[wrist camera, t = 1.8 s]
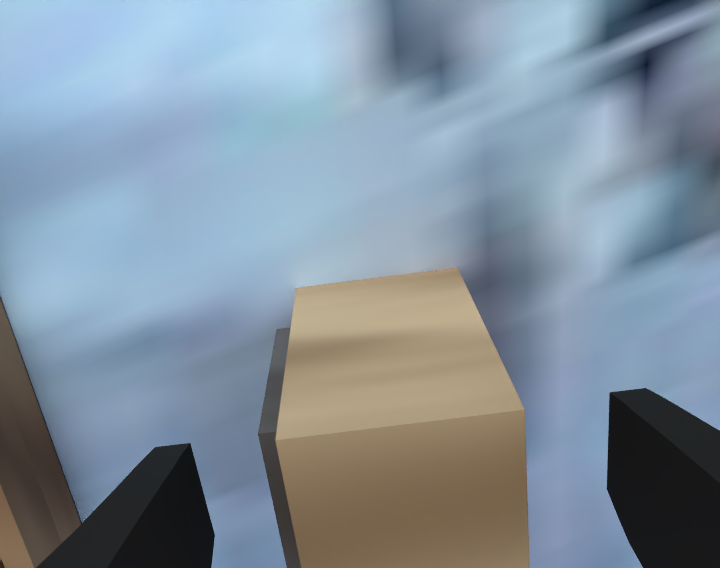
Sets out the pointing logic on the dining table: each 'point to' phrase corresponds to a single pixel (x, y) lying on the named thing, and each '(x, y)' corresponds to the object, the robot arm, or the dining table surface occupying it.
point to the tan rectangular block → (394, 430)
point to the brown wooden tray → (27, 469)
